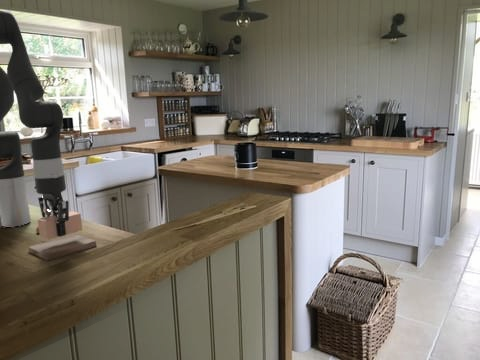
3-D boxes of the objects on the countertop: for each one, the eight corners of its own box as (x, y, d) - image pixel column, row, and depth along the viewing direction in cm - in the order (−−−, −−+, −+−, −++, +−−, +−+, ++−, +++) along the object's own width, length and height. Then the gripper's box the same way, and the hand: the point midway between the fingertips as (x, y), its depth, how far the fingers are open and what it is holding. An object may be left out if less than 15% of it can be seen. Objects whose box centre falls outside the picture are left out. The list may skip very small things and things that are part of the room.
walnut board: (29, 251, 115) (28, 246, 115) (76, 238, 125) (75, 234, 125) (47, 260, 107) (46, 255, 107) (96, 245, 117) (95, 240, 117)
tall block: (74, 227, 121) (39, 236, 114) (72, 211, 120) (37, 219, 113) (82, 230, 118) (47, 239, 110) (80, 213, 117) (45, 221, 109)
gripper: (24, 175, 114) (33, 233, 117) (47, 179, 104) (55, 242, 107) (51, 171, 119) (58, 227, 122) (75, 174, 110) (82, 234, 113)
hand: (57, 233), depth 115 cm, fingers closed on tall block, 5 cm apart
